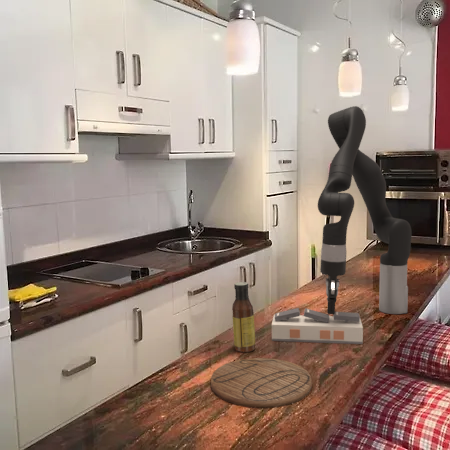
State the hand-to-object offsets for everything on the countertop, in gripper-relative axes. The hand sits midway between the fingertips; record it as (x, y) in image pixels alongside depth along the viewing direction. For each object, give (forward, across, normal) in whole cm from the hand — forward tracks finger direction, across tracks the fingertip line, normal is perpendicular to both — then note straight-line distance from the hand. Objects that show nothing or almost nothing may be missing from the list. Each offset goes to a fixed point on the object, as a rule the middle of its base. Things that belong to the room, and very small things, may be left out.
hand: (330, 313), depth 160 cm
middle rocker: (+2, 0, +5) cm, 5 cm away
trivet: (+9, -35, +18) cm, 40 cm away
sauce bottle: (+9, -13, +25) cm, 30 cm away
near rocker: (+2, 0, -5) cm, 5 cm away
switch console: (+8, 0, +4) cm, 9 cm away
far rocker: (+2, 0, +13) cm, 13 cm away
